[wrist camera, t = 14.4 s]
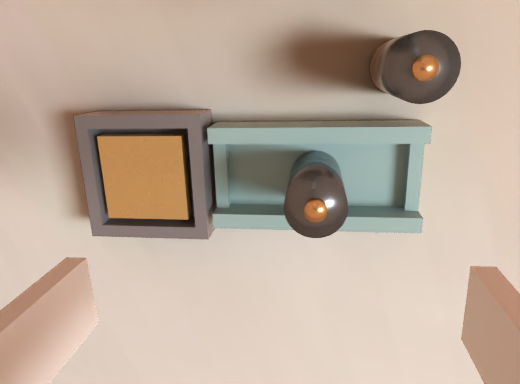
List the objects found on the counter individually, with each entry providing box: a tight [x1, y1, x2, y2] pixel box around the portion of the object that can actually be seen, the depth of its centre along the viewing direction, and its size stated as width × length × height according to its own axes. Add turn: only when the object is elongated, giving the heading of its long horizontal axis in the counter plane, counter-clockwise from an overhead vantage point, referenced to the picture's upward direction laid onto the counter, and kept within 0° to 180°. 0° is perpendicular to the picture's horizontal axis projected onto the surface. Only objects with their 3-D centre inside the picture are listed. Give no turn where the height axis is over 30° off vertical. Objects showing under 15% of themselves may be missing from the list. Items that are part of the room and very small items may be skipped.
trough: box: [207, 120, 432, 233], centre depth 32 cm, size 8×16×4 cm, turn 91°
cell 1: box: [283, 151, 348, 238], centre depth 29 cm, size 4×4×9 cm
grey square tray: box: [73, 110, 217, 239], centre depth 34 cm, size 10×10×4 cm
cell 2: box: [370, 30, 461, 104], centre depth 27 cm, size 4×4×9 cm
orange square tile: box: [97, 134, 192, 220], centre depth 33 cm, size 7×7×1 cm
